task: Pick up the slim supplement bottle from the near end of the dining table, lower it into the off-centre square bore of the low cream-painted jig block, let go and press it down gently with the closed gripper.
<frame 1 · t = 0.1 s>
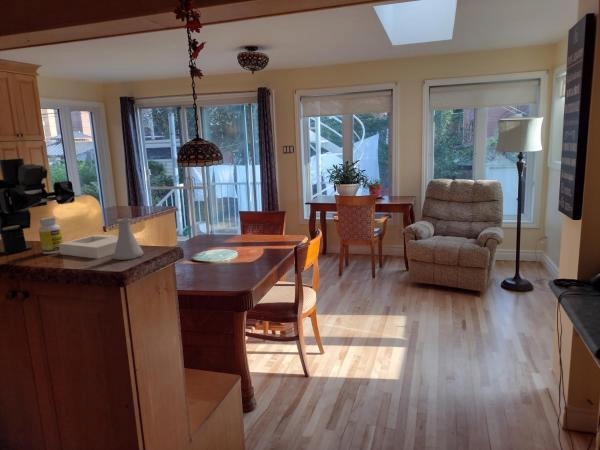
hand: (57, 196, 115), 17 cm above the countertop, tool horizontal, fingers open, 9 cm apart
flask: (128, 257, 116), on the countertop
jig block: (98, 250, 124), on the countertop
supplement bottle: (53, 252, 127), on the countertop
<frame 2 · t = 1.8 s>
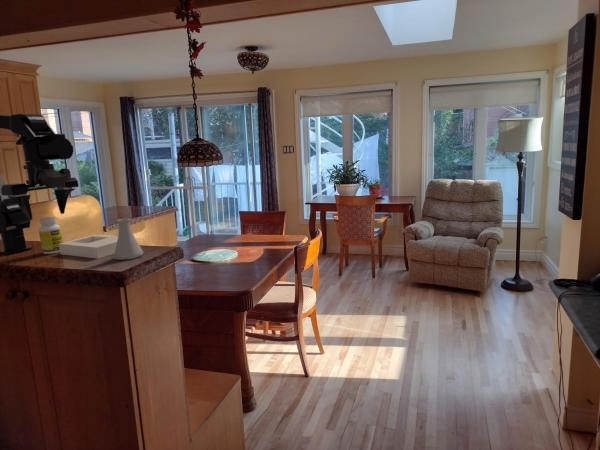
hand: (47, 216, 125), 10 cm above the countertop, tool pointing down, fingers open, 9 cm apart
nothing on the countertop moved.
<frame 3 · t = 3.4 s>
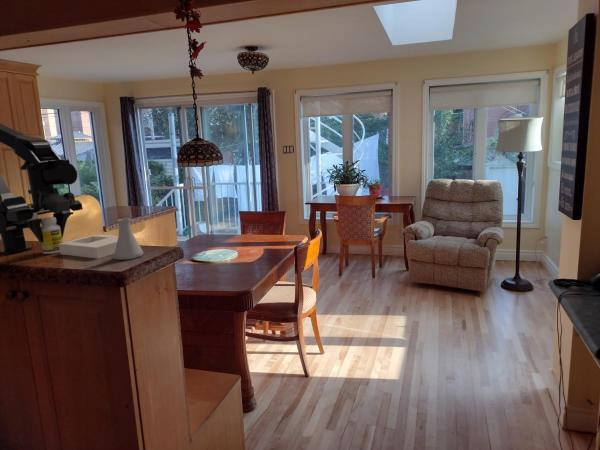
hand: (51, 239, 126), 4 cm above the countertop, tool pointing down, fingers closed on supplement bottle, 5 cm apart
supplement bottle: (53, 252, 127), on the countertop, touching gripper
everything else where it was.
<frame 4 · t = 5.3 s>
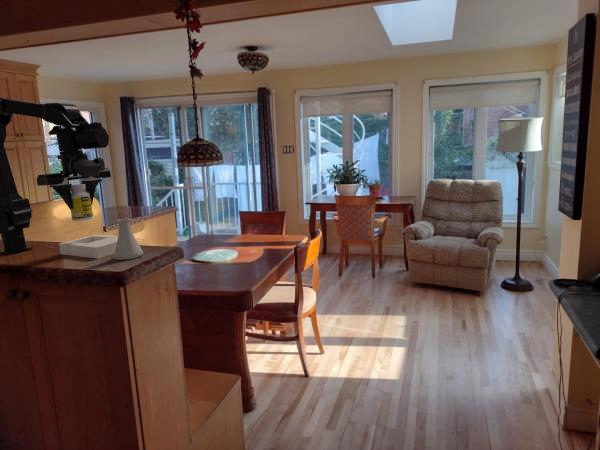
hand: (81, 207, 123), 12 cm above the countertop, tool pointing down, fingers closed on supplement bottle, 5 cm apart
supplement bottle: (83, 220, 124), point 9 cm above the countertop, touching gripper
everything else where it was.
when the fingers open (4 cm above the countertop, at t = 7.2 s): supplement bottle stays where it is, resting in jig block.
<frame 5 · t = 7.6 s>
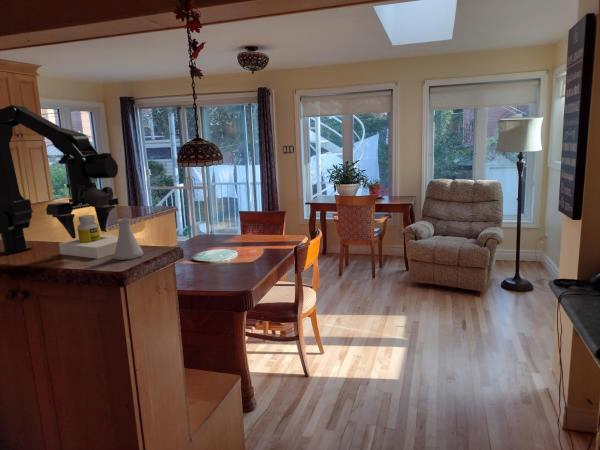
hand: (88, 234, 125), 4 cm above the countertop, tool pointing down, fingers open, 9 cm apart
supplement bottle: (91, 250, 126), resting in jig block
everything else where it was.
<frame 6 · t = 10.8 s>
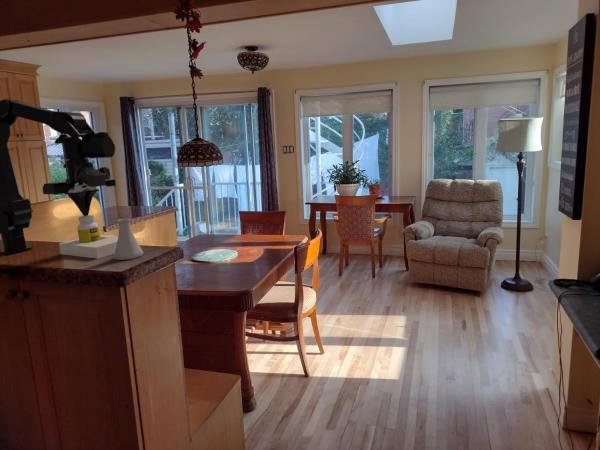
hand: (85, 215, 124), 10 cm above the countertop, tool pointing down, fingers closed
nothing on the countertop moved.
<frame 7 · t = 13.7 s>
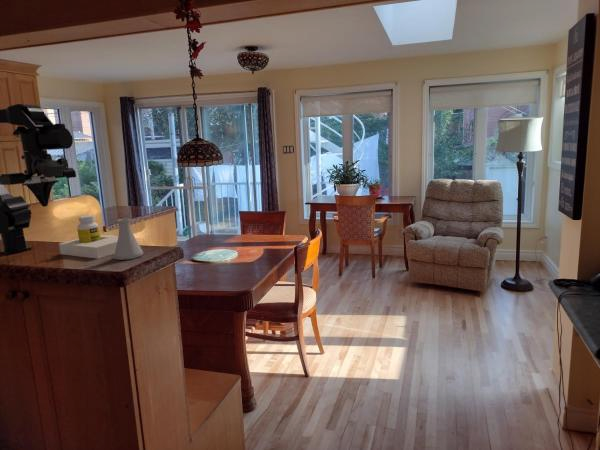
hand: (45, 206, 126), 13 cm above the countertop, tool pointing down, fingers closed
nothing on the countertop moved.
at the end: supplement bottle 0.0 cm from the target spot on the jig block, point 0.0 cm above the jig block's base; supplement bottle tilted 0°; the gripper is holding nothing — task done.
